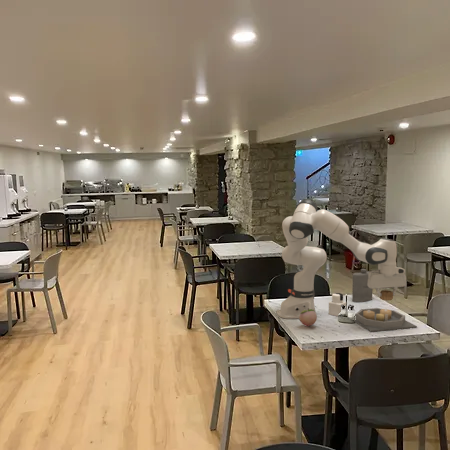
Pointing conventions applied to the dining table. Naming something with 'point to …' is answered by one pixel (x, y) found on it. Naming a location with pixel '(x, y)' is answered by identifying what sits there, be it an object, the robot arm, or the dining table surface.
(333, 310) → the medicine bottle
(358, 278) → the flask
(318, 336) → the dining table surface
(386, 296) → the planet gear
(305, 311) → the decorative fruit
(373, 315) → the grey octagonal tray
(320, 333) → the dining table surface
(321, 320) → the dining table surface
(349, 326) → the dining table surface
